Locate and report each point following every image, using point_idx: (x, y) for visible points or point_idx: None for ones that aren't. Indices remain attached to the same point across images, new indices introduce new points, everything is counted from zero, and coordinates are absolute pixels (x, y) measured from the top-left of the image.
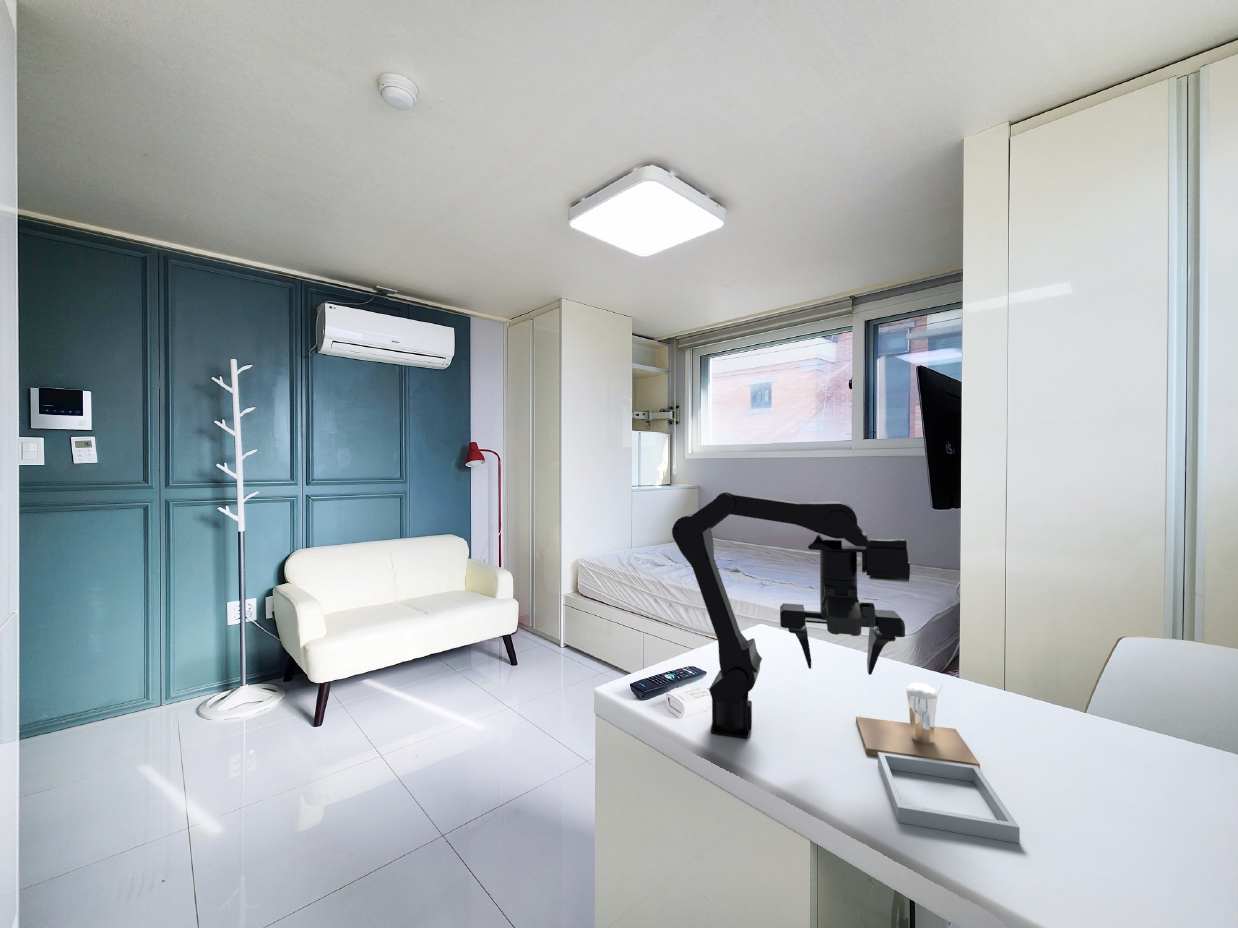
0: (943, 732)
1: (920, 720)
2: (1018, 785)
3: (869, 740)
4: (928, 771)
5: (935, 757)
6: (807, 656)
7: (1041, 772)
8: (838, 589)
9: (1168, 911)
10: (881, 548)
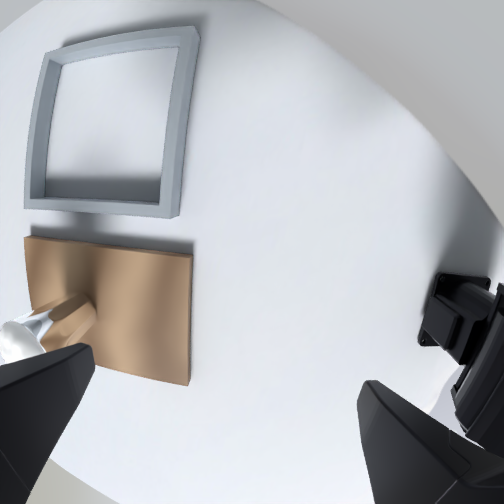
0: None
1: (58, 308)
2: (5, 204)
3: (176, 293)
4: (94, 199)
5: (72, 245)
6: (409, 412)
7: None
8: None
9: (10, 28)
10: None
